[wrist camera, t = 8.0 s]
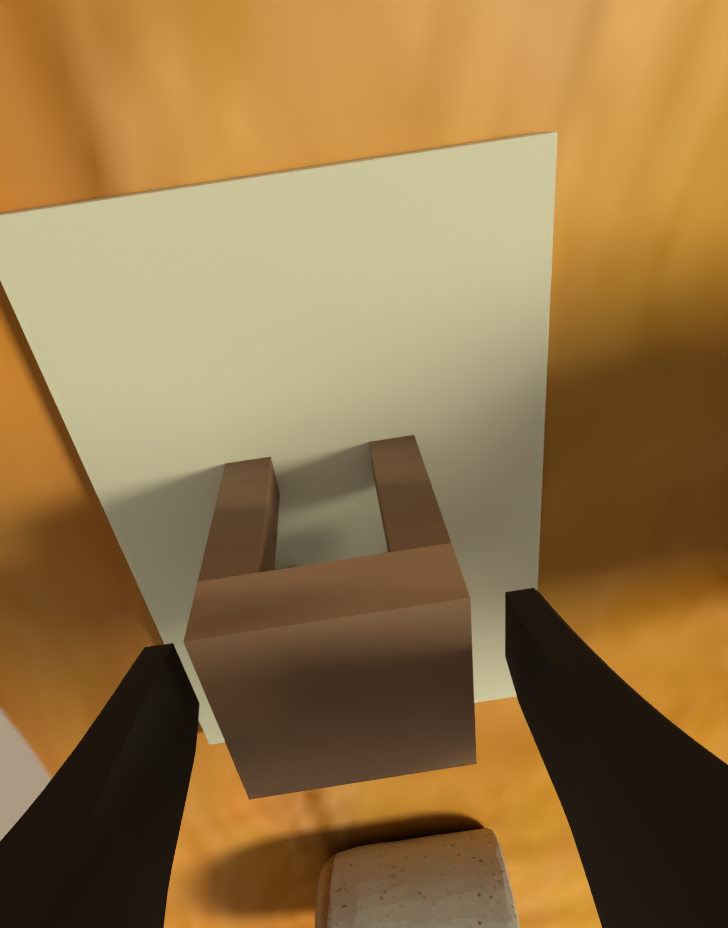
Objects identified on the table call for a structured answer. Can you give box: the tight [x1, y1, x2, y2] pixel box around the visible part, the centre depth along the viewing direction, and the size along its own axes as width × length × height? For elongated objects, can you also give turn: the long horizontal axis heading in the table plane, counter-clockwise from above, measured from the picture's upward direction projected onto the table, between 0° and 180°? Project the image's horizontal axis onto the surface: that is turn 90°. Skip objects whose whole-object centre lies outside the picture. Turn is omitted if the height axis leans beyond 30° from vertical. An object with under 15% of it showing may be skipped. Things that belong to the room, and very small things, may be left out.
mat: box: [0, 131, 557, 745], centre depth 17 cm, size 18×12×1 cm, turn 7°
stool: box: [183, 435, 476, 799], centre depth 14 cm, size 5×5×6 cm
